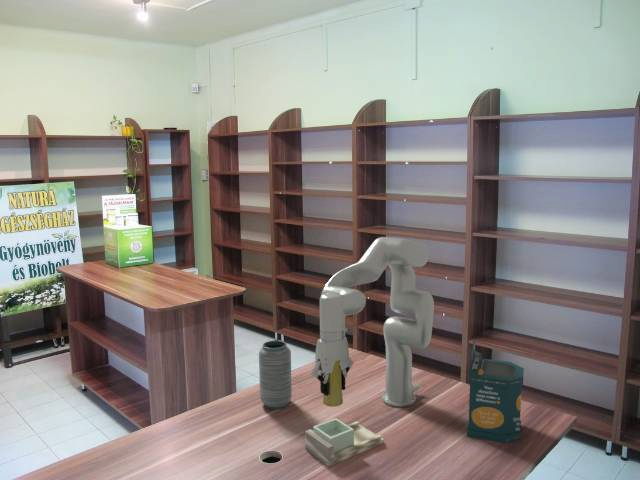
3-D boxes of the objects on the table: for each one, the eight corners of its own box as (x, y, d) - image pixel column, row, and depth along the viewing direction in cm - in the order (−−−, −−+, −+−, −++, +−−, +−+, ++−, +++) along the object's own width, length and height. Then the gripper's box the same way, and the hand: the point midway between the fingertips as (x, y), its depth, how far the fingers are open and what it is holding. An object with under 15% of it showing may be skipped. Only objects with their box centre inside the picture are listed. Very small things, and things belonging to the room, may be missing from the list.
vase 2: (341, 407, 162) (340, 362, 159) (321, 406, 163) (320, 361, 161) (344, 398, 168) (344, 355, 165) (325, 397, 169) (324, 353, 167)
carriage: (336, 435, 173) (335, 418, 172) (354, 447, 166) (353, 429, 165) (313, 444, 168) (312, 426, 167) (330, 457, 161) (330, 438, 160)
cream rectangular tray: (359, 427, 181) (359, 410, 180) (383, 442, 172) (383, 424, 171) (305, 449, 169) (305, 431, 168) (328, 466, 159) (328, 447, 158)
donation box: (472, 414, 190) (474, 337, 185) (520, 421, 184) (524, 343, 179) (466, 436, 175) (469, 354, 170) (520, 445, 169) (524, 360, 164)
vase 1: (294, 408, 195) (293, 348, 191) (262, 413, 192) (260, 351, 189) (288, 395, 206) (287, 337, 203) (258, 398, 203) (256, 340, 200)
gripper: (347, 325, 170) (347, 380, 173) (301, 337, 160) (302, 394, 163) (362, 331, 164) (362, 388, 167) (316, 344, 154) (317, 403, 157)
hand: (333, 390), depth 165 cm, fingers closed on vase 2, 5 cm apart
